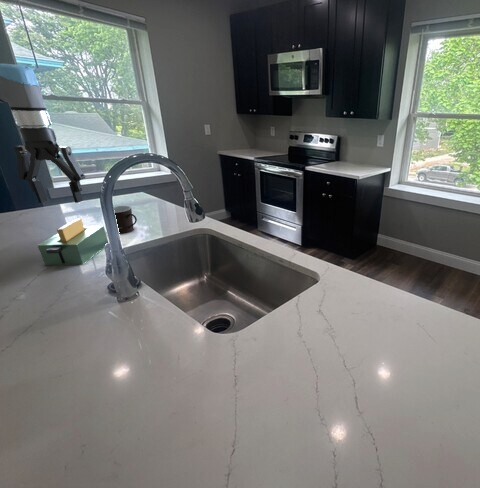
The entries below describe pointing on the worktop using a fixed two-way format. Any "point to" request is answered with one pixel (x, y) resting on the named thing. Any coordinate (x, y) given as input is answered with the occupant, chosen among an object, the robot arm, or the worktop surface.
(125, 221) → the coffee mug
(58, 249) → the toaster lever
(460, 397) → the worktop surface
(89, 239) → the toaster
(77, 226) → the toast
